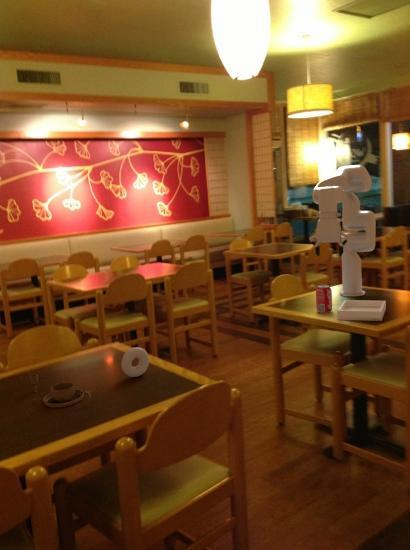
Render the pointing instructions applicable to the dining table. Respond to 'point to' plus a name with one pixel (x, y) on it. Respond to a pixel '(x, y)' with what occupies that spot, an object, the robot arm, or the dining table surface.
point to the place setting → (60, 393)
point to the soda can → (324, 298)
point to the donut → (141, 365)
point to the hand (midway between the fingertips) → (329, 255)
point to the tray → (361, 310)
